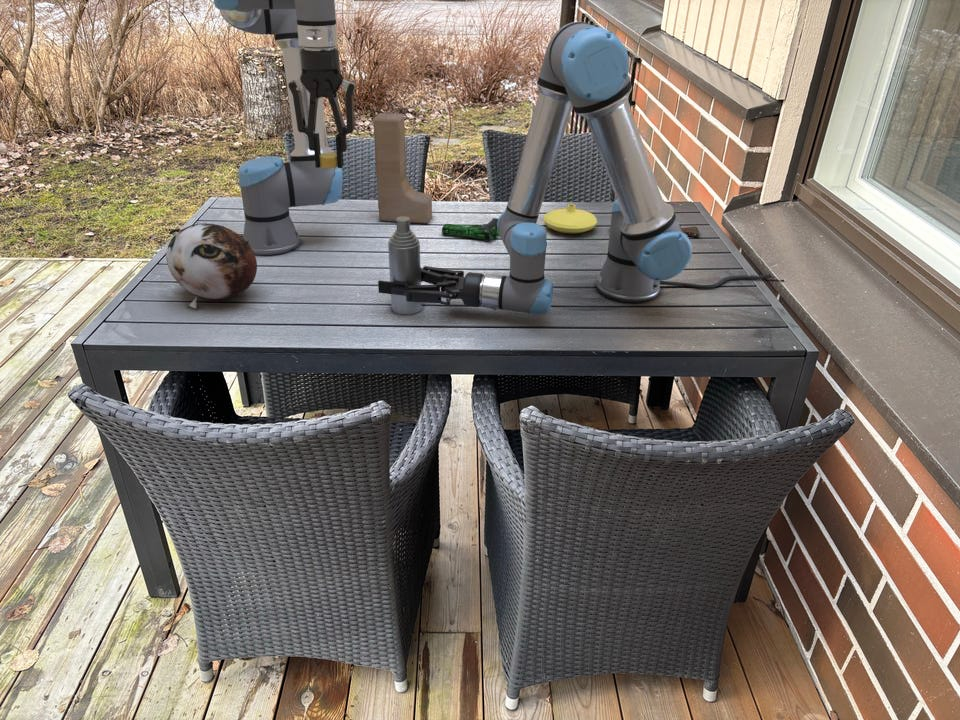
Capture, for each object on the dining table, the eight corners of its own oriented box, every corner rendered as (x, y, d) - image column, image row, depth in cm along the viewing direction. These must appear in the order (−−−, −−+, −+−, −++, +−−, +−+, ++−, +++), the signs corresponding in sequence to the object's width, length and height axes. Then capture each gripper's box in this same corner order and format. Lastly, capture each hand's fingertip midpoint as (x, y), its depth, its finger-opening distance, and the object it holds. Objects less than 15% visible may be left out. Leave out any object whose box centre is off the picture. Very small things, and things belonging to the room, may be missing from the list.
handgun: (511, 219, 210) (493, 234, 198) (511, 228, 211) (492, 244, 199) (461, 212, 215) (440, 226, 203) (461, 221, 217) (440, 236, 204)
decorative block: (427, 224, 212) (425, 120, 197) (378, 221, 214) (372, 118, 199) (432, 215, 219) (430, 114, 204) (384, 213, 221) (379, 112, 205)
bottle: (389, 313, 163) (383, 223, 152) (394, 300, 169) (389, 212, 158) (419, 315, 162) (416, 224, 151) (423, 301, 168) (421, 213, 157)
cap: (327, 169, 150) (326, 159, 149) (316, 165, 152) (315, 154, 151) (343, 165, 152) (342, 155, 151) (332, 161, 155) (331, 151, 154)
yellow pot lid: (559, 216, 220) (561, 193, 217) (605, 227, 212) (608, 204, 209) (532, 230, 209) (533, 207, 206) (580, 242, 201) (582, 218, 198)
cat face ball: (130, 285, 161) (164, 203, 163) (192, 308, 177) (221, 233, 178) (195, 307, 151) (229, 220, 152) (254, 330, 166) (285, 250, 168)
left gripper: (270, 49, 137) (285, 170, 149) (359, 51, 137) (367, 172, 149) (280, 44, 143) (294, 160, 156) (365, 45, 144) (372, 161, 156)
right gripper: (472, 325, 152) (370, 313, 157) (491, 287, 169) (399, 277, 173) (472, 294, 148) (368, 282, 153) (492, 258, 165) (397, 248, 169)
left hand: (329, 165), depth 153 cm, fingers closed on cap, 4 cm apart
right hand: (384, 279), depth 163 cm, fingers closed on bottle, 7 cm apart
